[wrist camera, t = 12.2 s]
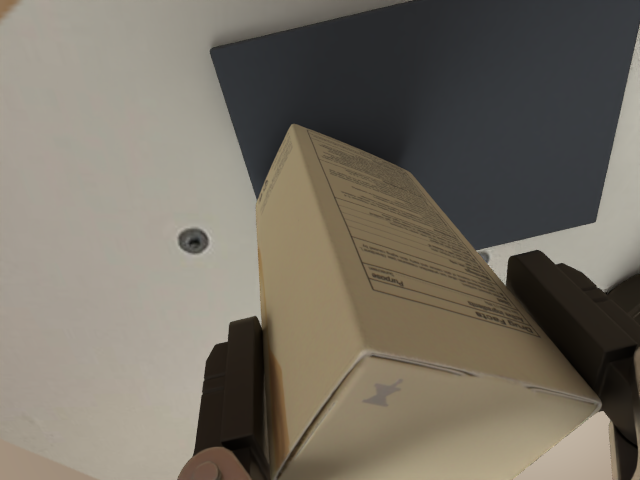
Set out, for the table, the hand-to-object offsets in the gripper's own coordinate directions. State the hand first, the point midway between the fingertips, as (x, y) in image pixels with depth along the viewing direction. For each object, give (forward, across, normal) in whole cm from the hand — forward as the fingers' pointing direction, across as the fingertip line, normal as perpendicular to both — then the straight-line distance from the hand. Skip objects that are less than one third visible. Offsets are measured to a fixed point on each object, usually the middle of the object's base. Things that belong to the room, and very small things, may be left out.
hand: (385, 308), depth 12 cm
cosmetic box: (+8, 0, 0) cm, 8 cm away
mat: (+10, -5, 0) cm, 11 cm away
